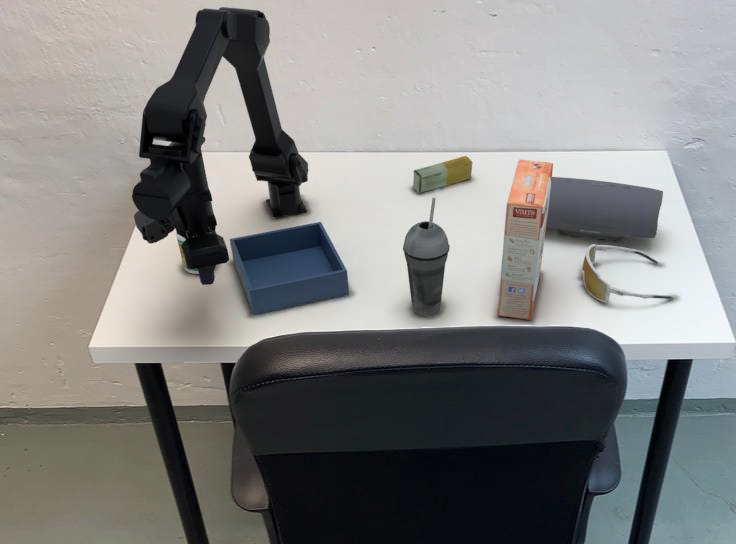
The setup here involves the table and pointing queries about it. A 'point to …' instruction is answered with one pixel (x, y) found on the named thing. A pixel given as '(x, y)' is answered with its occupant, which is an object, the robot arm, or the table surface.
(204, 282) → the eraser
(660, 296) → the sunglasses
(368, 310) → the table surface
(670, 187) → the table surface
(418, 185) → the medication box
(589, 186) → the bluetooth speaker
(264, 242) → the storage box
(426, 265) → the beverage cup
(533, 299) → the cracker box
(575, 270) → the table surface
